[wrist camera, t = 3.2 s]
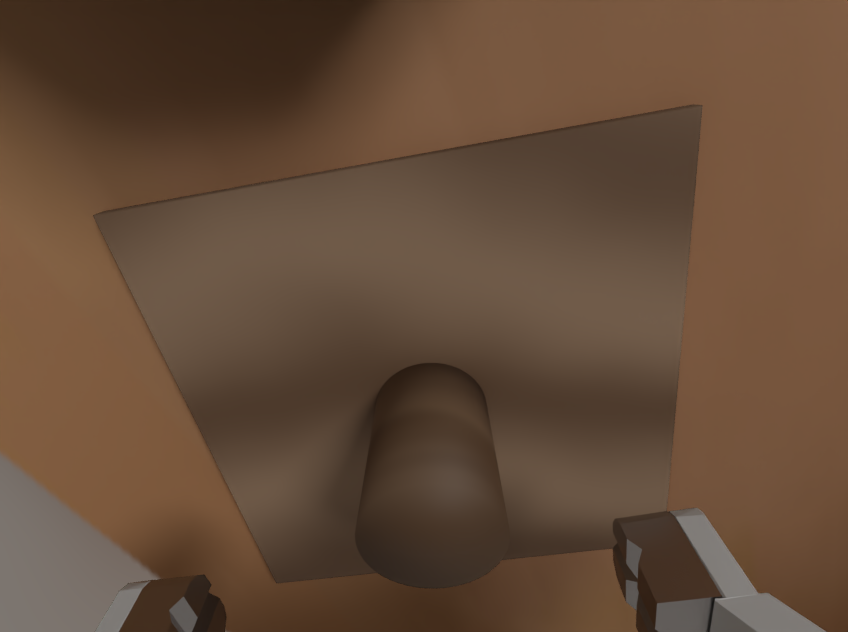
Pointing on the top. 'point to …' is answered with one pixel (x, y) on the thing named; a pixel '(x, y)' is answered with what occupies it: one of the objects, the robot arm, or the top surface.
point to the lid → (433, 345)
